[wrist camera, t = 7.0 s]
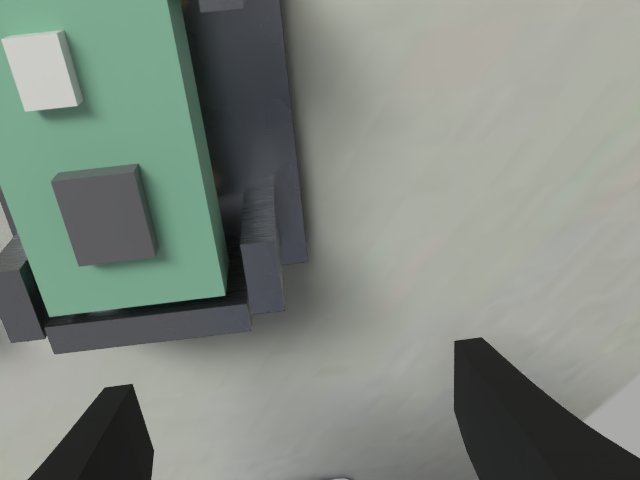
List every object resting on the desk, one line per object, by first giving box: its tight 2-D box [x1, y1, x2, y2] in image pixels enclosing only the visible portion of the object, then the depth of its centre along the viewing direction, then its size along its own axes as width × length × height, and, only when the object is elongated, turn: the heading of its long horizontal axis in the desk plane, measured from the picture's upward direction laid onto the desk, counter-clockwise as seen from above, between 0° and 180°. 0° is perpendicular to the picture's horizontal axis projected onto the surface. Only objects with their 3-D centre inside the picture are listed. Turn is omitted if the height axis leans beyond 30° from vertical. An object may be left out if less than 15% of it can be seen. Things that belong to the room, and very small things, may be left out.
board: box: [0, 0, 229, 317], centre depth 15 cm, size 5×9×3 cm, turn 5°
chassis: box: [0, 0, 308, 354], centre depth 17 cm, size 10×12×5 cm
